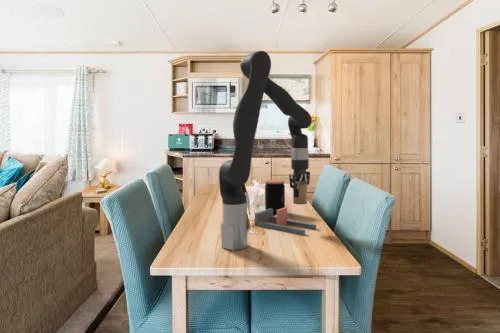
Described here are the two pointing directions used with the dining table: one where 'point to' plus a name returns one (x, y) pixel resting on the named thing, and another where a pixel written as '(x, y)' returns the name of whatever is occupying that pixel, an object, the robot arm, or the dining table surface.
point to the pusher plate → (281, 216)
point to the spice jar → (301, 193)
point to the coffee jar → (274, 195)
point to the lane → (267, 216)
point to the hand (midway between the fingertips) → (300, 195)
